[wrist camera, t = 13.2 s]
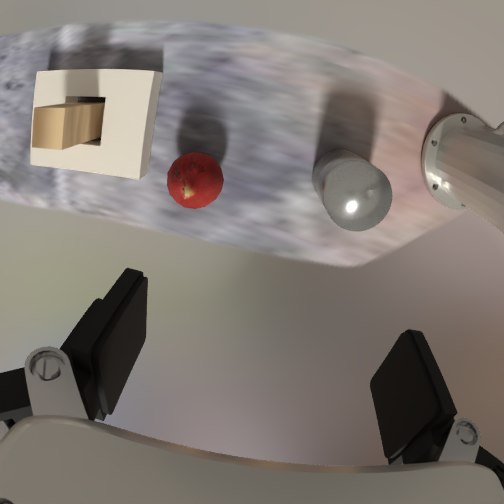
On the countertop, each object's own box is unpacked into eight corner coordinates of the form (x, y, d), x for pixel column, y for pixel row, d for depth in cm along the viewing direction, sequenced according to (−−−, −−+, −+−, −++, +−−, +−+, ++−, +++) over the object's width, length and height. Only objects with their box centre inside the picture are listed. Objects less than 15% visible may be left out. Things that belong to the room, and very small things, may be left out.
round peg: (347, 138, 33) (370, 149, 26) (376, 184, 35) (403, 206, 28) (300, 170, 35) (311, 190, 28) (332, 214, 37) (348, 243, 30)
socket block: (163, 72, 30) (154, 70, 27) (148, 173, 35) (139, 179, 33) (50, 71, 29) (37, 71, 26) (43, 159, 34) (30, 164, 32)
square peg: (111, 102, 32) (65, 108, 23) (107, 135, 33) (61, 150, 24) (84, 101, 31) (34, 107, 22) (80, 132, 33) (31, 147, 24)
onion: (167, 166, 35) (143, 184, 28) (207, 137, 33) (192, 148, 26) (196, 205, 37) (180, 232, 30) (236, 178, 36) (229, 200, 28)
